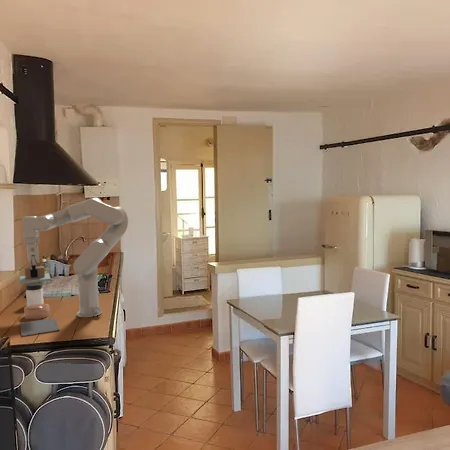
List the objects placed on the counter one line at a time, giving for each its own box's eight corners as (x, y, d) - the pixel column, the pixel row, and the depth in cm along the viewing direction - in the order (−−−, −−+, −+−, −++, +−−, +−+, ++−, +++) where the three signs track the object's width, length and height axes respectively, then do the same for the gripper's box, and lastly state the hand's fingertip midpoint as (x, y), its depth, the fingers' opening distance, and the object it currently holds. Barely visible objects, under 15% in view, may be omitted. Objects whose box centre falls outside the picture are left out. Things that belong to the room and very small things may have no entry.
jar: (23, 306, 251) (22, 285, 249) (34, 302, 258) (33, 281, 257) (36, 307, 247) (34, 286, 246) (47, 303, 255) (45, 283, 254)
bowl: (54, 315, 234) (54, 305, 234) (33, 321, 224) (32, 311, 224) (40, 311, 241) (40, 302, 240) (19, 317, 231) (19, 307, 231)
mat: (59, 330, 209) (59, 329, 209) (21, 336, 202) (21, 335, 202) (54, 319, 227) (54, 317, 227) (19, 324, 220) (19, 323, 220)
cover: (51, 280, 227) (50, 268, 226) (20, 283, 221) (19, 271, 220) (48, 275, 239) (47, 264, 239) (19, 278, 233) (18, 266, 233)
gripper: (40, 242, 222) (43, 278, 224) (38, 238, 237) (40, 272, 239) (24, 243, 219) (26, 280, 221) (22, 239, 234) (25, 274, 236)
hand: (34, 275), depth 230 cm, fingers closed on cover, 4 cm apart
